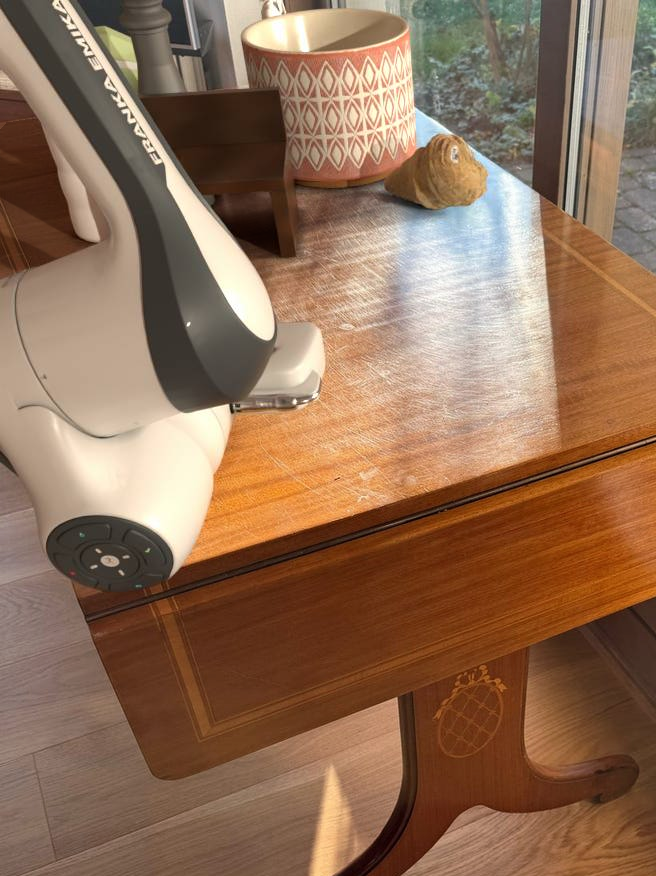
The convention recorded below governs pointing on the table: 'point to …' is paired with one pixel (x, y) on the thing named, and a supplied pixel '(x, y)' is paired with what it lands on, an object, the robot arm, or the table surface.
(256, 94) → the miniature wooden bench
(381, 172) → the planter
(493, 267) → the table surface
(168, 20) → the candle holder
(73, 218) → the water bottle
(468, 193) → the seashell
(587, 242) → the table surface
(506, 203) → the table surface
